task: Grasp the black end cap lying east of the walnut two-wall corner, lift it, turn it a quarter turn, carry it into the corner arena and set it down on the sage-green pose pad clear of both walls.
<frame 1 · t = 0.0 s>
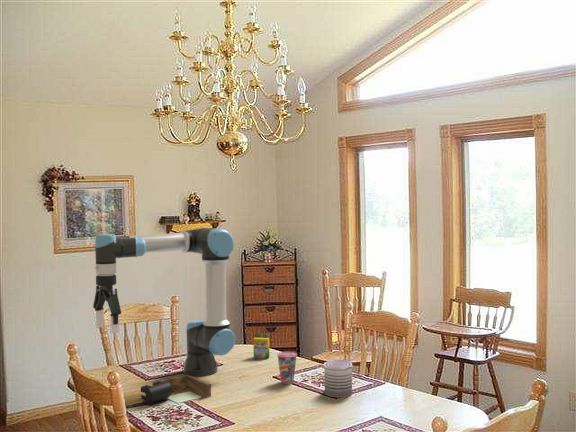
hand: (107, 329, 246), 28 cm above the table, fingers open, 13 cm apart
cup: (288, 382, 270), on the table
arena: (187, 387, 265), on the table
crayon box: (261, 358, 311), on the table
pose pad: (183, 397, 252), on the table
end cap: (156, 402, 247), on the table, touching pose pad
can: (338, 393, 256), on the table
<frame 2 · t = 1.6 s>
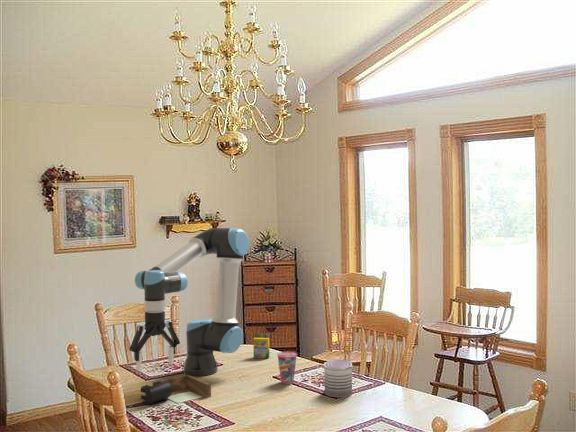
hand: (155, 366, 246), 14 cm above the table, fingers open, 13 cm apart
nothing on the table moved.
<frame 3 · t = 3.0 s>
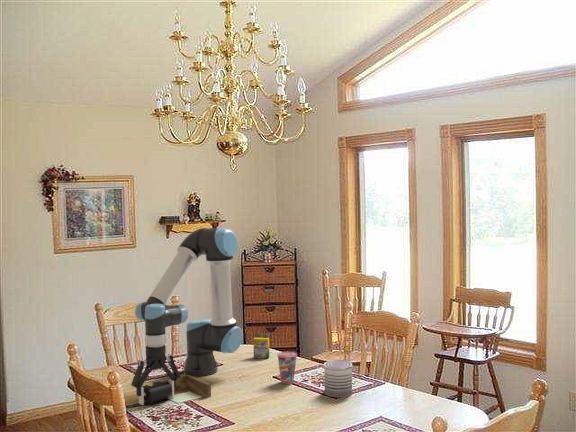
hand: (156, 400, 247), 0 cm above the table, fingers open, 12 cm apart
nothing on the table moved.
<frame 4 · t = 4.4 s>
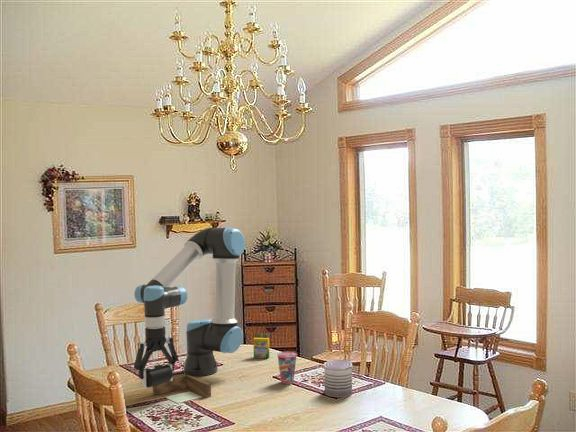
hand: (157, 383, 247), 7 cm above the table, fingers closed on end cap, 10 cm apart
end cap: (157, 385, 247), point 6 cm above the table, touching gripper
everything else where it was.
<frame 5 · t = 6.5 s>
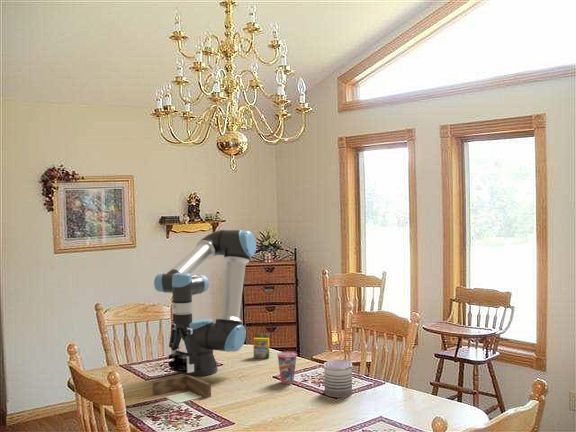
hand: (183, 369, 251), 11 cm above the table, fingers closed on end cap, 10 cm apart
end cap: (183, 370, 251), point 11 cm above the table, touching gripper
everything else where it was.
when the fingers open (1 cm above the table, at t = 8.7 s): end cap stays where it is, resting on pose pad.
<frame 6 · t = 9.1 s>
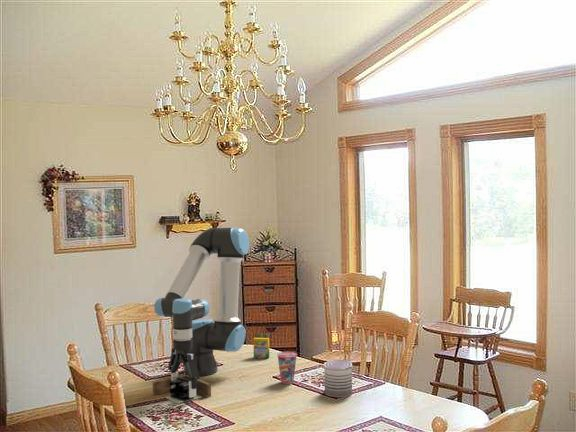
hand: (183, 392, 252), 2 cm above the table, fingers open, 13 cm apart
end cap: (184, 397, 252), resting on pose pad
everything else where it was.
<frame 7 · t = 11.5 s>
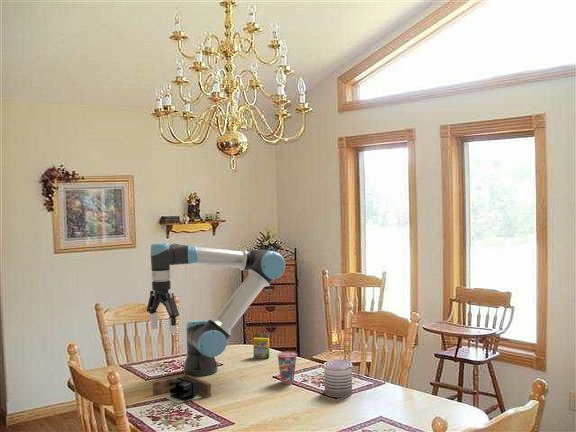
hand: (163, 331, 268), 23 cm above the table, fingers open, 13 cm apart
nothing on the table moved.
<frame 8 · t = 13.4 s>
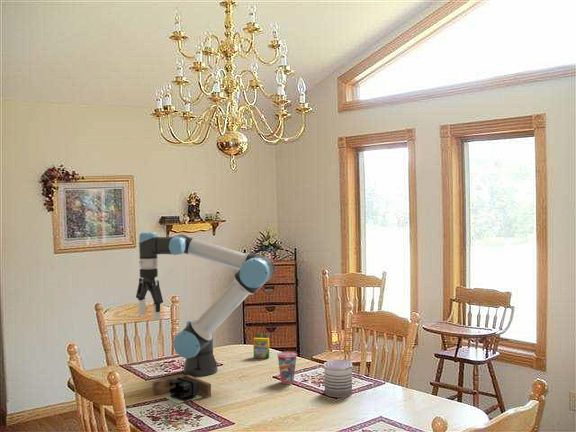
hand: (149, 317, 278), 27 cm above the table, fingers open, 13 cm apart
nothing on the table moved.
at the end: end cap inside the target area (0.6 cm from its centre), on the table; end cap touching pose pad; the gripper is holding nothing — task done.
